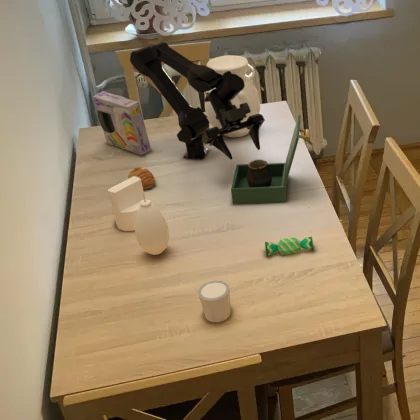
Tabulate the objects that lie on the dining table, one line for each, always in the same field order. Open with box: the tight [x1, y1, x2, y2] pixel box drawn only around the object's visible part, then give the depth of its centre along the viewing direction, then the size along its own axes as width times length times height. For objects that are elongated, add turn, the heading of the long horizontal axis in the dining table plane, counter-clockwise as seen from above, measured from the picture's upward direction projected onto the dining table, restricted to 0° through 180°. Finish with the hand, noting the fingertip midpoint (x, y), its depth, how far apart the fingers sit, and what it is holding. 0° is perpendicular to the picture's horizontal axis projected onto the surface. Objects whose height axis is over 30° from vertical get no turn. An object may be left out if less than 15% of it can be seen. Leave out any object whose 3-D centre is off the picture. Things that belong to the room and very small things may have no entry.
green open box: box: [230, 162, 289, 205], centre depth 192 cm, size 15×15×5 cm
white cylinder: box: [197, 280, 232, 323], centre depth 146 cm, size 7×7×7 cm
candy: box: [264, 236, 314, 257], centre depth 167 cm, size 12×3×4 cm
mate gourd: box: [247, 159, 272, 187], centre depth 190 cm, size 7×8×10 cm
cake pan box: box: [92, 90, 152, 156], centre depth 214 cm, size 19×5×18 cm, turn 55°
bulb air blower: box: [134, 192, 170, 256], centre depth 163 cm, size 8×8×18 cm
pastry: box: [127, 166, 157, 190], centre depth 197 cm, size 9×7×4 cm
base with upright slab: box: [107, 176, 145, 232], centre depth 177 cm, size 9×9×12 cm
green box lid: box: [283, 114, 311, 186], centre depth 187 cm, size 16×15×4 cm
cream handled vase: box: [204, 54, 261, 138], centre depth 221 cm, size 19×18×25 cm
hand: (245, 154), depth 193 cm, fingers open, 9 cm apart
